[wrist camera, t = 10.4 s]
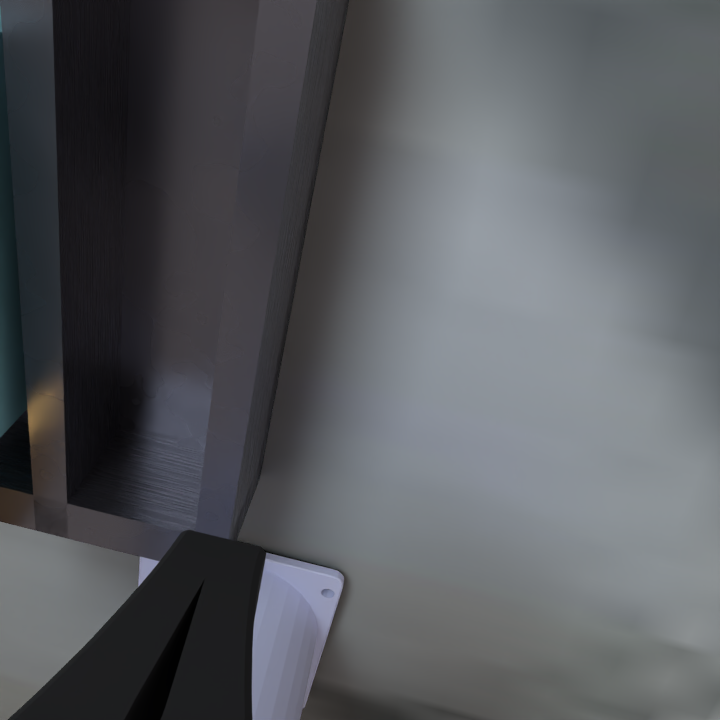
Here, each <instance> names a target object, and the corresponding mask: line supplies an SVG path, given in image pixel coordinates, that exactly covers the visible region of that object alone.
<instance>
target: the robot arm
mask: <svg viewBox="0 0 720 720" xmlns="http://www.w3.org/2000/svg"><path fill="white" fill-rule="evenodd" d="M343 585H344V577H343V575H342V574H341V573H340V572H339V571H337V570H334V569H330V568H326V567H322V566H318V565H314V564H310V563H306V562H302V561H298V560H294V559H290V558H286V557H282V556H278V555H274V554H270V553H266V552H265V551H264V550H263V549H262V548H261V547H259V546H255V545H251V544H247V543H242V542H238V541H234V540H230V539H226V538H221V537H217V536H213V535H209V534H205V533H201V532H196V531H192V530H186V531H183V532H181V533H180V534H179V536H178V537H177V539H176V540H175V542H174V543H173V544H172V546H171V547H170V548H169V550H168V551H167V552H166V554H165V555H164V556H163V558H162V559H161V560H160V561H156V560H152V559H148V558H144V557H140V563H139V580H138V588H137V589H136V590H135V591H134V593H133V594H132V595H131V596H130V597H129V598H128V600H127V601H126V602H125V603H124V604H123V605H122V606H121V607H120V608H119V609H118V610H117V612H116V613H115V614H114V615H113V616H112V617H111V618H110V619H109V620H108V621H107V622H106V624H105V625H104V626H103V627H102V628H101V629H100V630H99V631H98V632H97V633H96V634H95V636H94V637H93V638H92V639H91V640H90V641H89V642H88V643H87V644H86V645H85V646H84V647H83V648H82V649H81V650H80V651H79V652H78V653H77V654H76V655H75V656H74V657H73V658H72V659H71V660H70V661H69V662H68V663H67V664H66V665H65V666H64V667H63V668H62V669H61V670H60V671H59V672H58V673H57V674H56V675H55V676H54V677H53V678H52V679H51V680H50V681H49V682H48V683H47V684H46V685H45V686H43V687H42V688H41V689H40V690H39V691H38V692H37V693H36V694H35V695H34V696H33V697H32V698H31V699H30V700H29V701H28V702H26V703H25V704H24V705H23V706H22V707H21V708H20V709H19V710H18V711H17V712H16V713H15V714H13V715H12V716H11V717H10V718H9V719H8V720H300V718H301V713H302V709H303V708H304V707H305V705H306V702H307V699H308V696H309V693H310V689H311V686H312V683H313V680H314V677H315V674H316V671H317V668H318V664H319V661H320V658H321V655H322V652H323V649H324V646H325V642H326V639H327V636H328V633H329V630H330V627H331V624H332V620H333V617H334V614H335V611H336V608H337V605H338V602H339V598H340V595H341V592H342V589H343ZM328 589H330V590H328Z"/></svg>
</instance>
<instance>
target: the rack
mask: <svg viewBox="0 0 720 720" xmlns="http://www.w3.org/2000/svg"><path fill="white" fill-rule="evenodd" d="M348 2H349V0H0V8H1V23H2V38H3V53H4V68H5V83H6V97H7V112H8V127H9V142H10V157H11V172H12V187H13V202H14V216H15V231H16V246H17V261H18V276H19V291H20V306H21V321H22V335H23V350H24V365H25V380H26V395H27V410H26V411H25V412H24V413H23V414H22V415H21V416H20V417H19V418H18V419H17V420H16V421H15V422H14V424H13V425H12V426H11V427H10V428H9V429H8V430H7V431H6V432H5V433H4V434H3V435H2V436H1V437H0V521H1V522H5V523H9V524H13V525H17V526H21V527H25V528H29V529H33V530H37V531H41V532H45V533H48V534H52V535H56V536H60V537H64V538H68V539H72V540H76V541H80V542H84V543H88V544H92V545H96V546H100V547H104V548H108V549H112V550H116V551H120V552H124V553H128V554H132V555H136V556H140V557H144V558H148V559H152V560H156V561H160V560H161V559H162V558H163V556H164V555H165V554H166V552H167V551H168V550H169V548H170V547H171V546H172V544H173V543H174V542H175V540H176V539H177V537H178V536H179V534H180V533H181V532H183V531H186V530H192V531H196V532H201V533H205V534H209V535H213V536H217V537H221V538H226V539H230V540H234V541H236V540H237V537H238V535H239V532H240V529H241V526H242V524H243V521H244V518H245V516H246V513H247V510H248V508H249V505H250V502H251V500H252V497H253V494H254V492H255V489H256V486H257V484H258V481H259V478H260V474H261V468H262V463H263V458H264V452H265V447H266V441H267V436H268V431H269V425H270V420H271V415H272V409H273V404H274V399H275V393H276V388H277V383H278V377H279V372H280V366H281V361H282V356H283V350H284V345H285V340H286V334H287V329H288V324H289V318H290V313H291V308H292V302H293V297H294V291H295V286H296V281H297V275H298V270H299V265H300V259H301V254H302V249H303V243H304V238H305V232H306V227H307V222H308V216H309V211H310V206H311V200H312V195H313V190H314V184H315V179H316V174H317V168H318V163H319V157H320V152H321V147H322V141H323V136H324V131H325V125H326V120H327V115H328V109H329V104H330V99H331V93H332V88H333V82H334V77H335V72H336V66H337V61H338V56H339V50H340V45H341V40H342V34H343V29H344V23H345V18H346V13H347V7H348Z"/></svg>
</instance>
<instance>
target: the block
mask: <svg viewBox="0 0 720 720" xmlns="http://www.w3.org/2000/svg"><path fill="white" fill-rule="evenodd" d="M26 410H27V395H26V380H25V365H24V350H23V335H22V321H21V306H20V291H19V276H18V261H17V246H16V231H15V216H14V202H13V187H12V172H11V157H10V142H9V127H8V112H7V97H6V83H5V68H4V53H3V38H2V23H1V8H0V437H1V436H2V435H3V434H4V433H5V432H6V431H7V430H8V429H9V428H10V427H11V426H12V425H13V424H14V422H15V421H16V420H17V419H18V418H19V417H20V416H21V415H22V414H23V413H24V412H25V411H26Z"/></svg>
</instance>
